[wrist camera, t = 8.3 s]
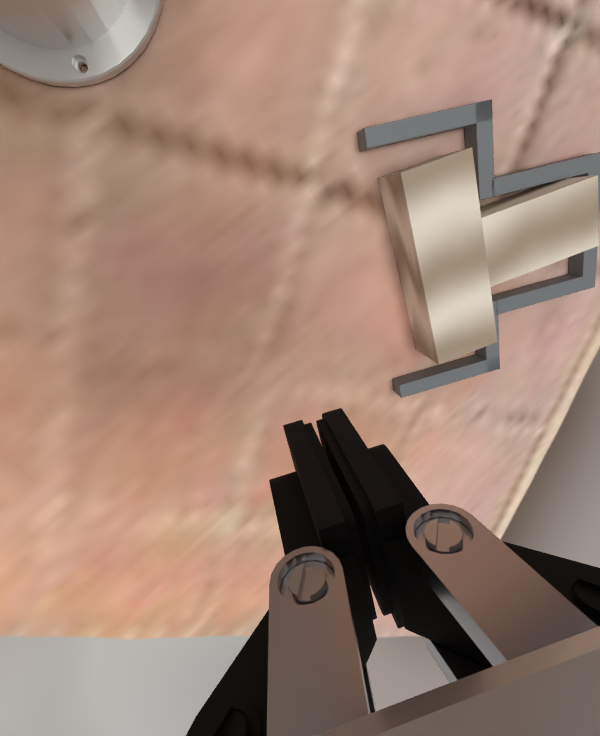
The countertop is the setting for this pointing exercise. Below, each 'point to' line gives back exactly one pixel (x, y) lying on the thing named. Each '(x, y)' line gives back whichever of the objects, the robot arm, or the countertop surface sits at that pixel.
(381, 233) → the countertop surface
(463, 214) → the t block
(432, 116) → the dock
